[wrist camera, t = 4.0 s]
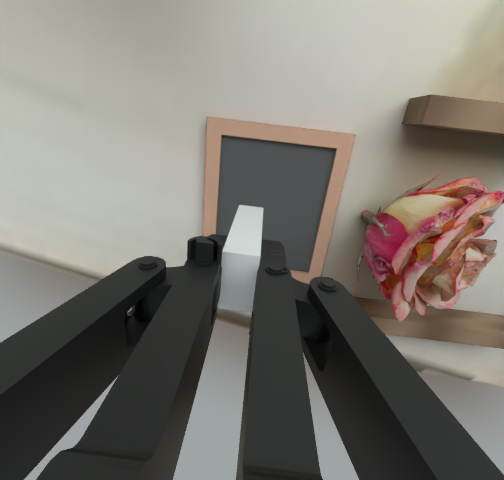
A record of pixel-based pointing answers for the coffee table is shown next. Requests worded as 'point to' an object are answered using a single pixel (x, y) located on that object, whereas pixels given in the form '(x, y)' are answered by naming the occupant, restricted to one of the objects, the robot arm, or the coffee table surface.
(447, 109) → the brown slabs
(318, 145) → the framed chalkboard
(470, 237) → the flower
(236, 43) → the coffee table surface
